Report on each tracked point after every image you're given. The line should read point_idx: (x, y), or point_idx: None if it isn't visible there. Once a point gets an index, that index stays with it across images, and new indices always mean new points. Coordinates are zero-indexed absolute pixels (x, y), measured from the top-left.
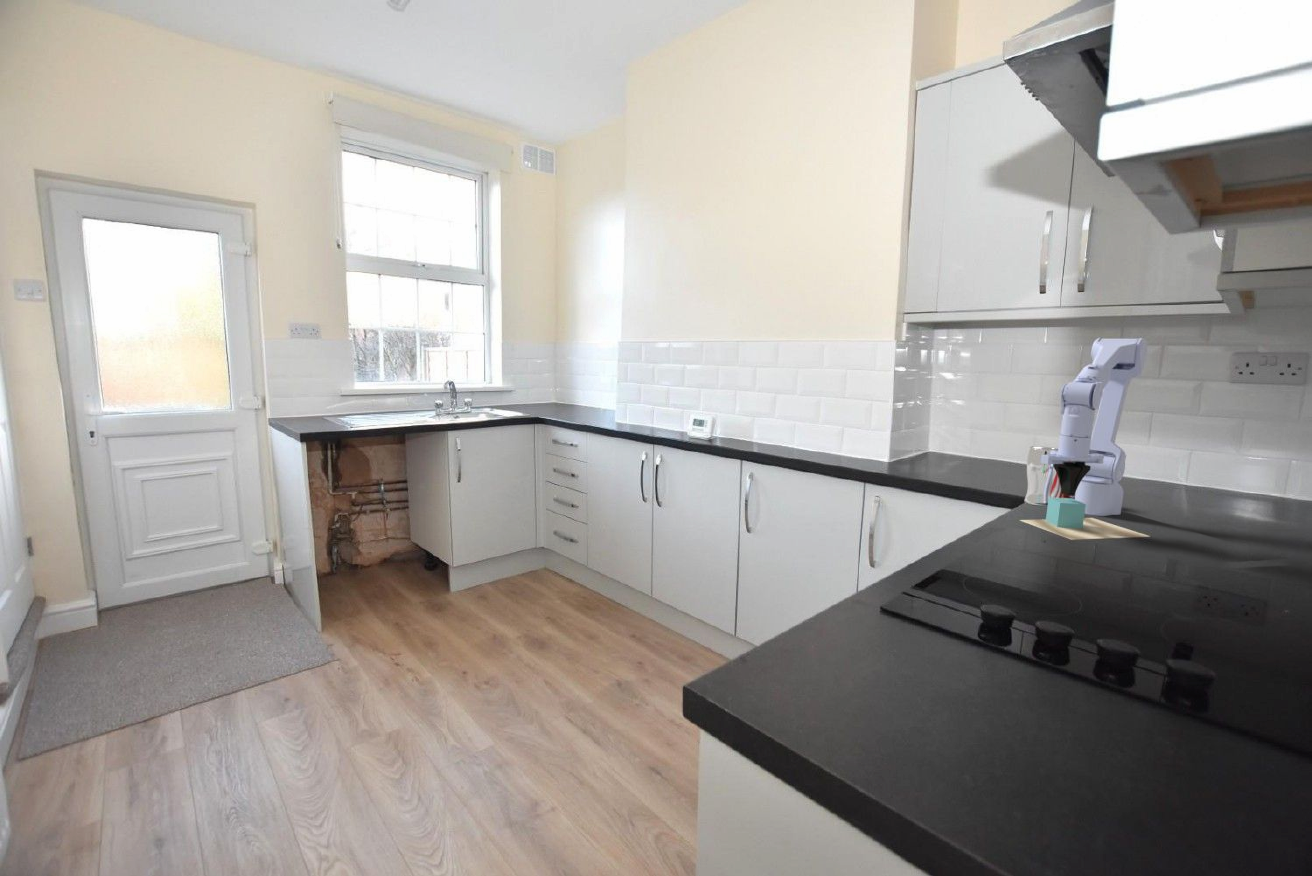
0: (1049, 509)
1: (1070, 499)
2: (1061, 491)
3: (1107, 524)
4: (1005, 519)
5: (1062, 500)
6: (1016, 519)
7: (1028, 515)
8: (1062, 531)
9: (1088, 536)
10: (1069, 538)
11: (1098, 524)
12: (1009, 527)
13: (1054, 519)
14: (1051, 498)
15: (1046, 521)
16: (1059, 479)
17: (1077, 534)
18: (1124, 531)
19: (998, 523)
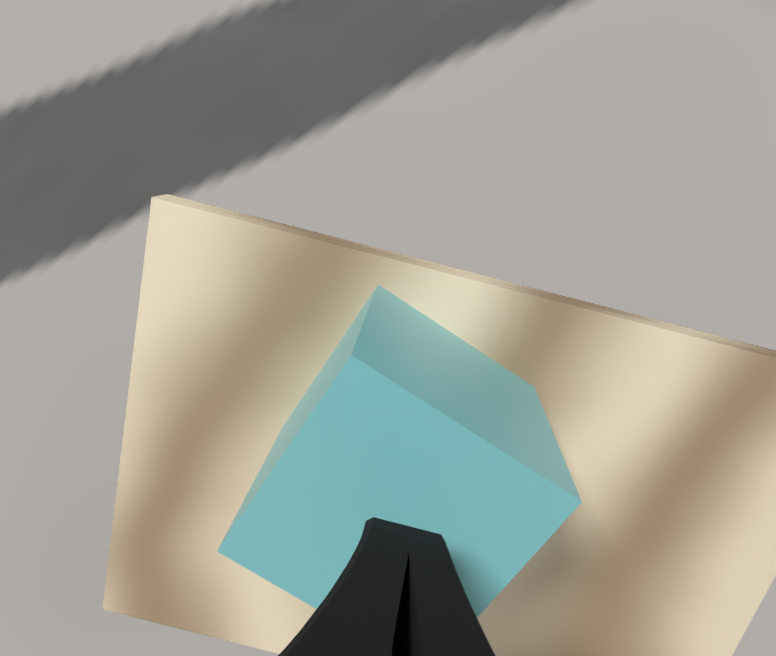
0: (343, 349)
1: (494, 514)
2: (363, 533)
3: (747, 532)
4: (183, 40)
5: (349, 505)
6: (285, 78)
7: (538, 18)
8: (210, 501)
9: (273, 618)
10: (109, 594)
11: (676, 507)
12: (19, 222)
13: (298, 408)
14: (318, 405)
15: (349, 307)
16: (291, 644)
17: (247, 571)
18: (647, 653)
19: (17, 110)
